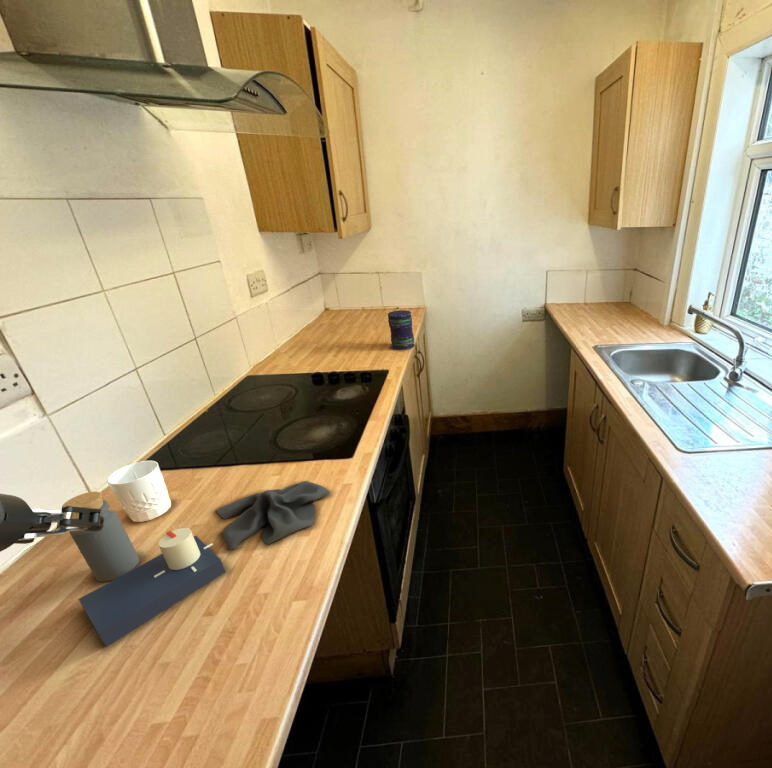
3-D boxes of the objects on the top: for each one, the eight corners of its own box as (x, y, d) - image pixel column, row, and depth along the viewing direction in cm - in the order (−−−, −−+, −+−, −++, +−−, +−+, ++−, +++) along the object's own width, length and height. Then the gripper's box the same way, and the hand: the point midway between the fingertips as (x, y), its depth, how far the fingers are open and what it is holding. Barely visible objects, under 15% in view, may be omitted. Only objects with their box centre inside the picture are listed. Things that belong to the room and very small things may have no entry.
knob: (205, 555, 72) (195, 532, 70) (176, 574, 68) (165, 550, 66) (192, 546, 74) (182, 523, 72) (163, 563, 70) (152, 539, 68)
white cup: (173, 514, 86) (156, 474, 82) (124, 530, 82) (103, 489, 78) (175, 494, 92) (159, 456, 88) (129, 508, 88) (110, 468, 84)
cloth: (335, 479, 96) (329, 457, 93) (315, 539, 79) (309, 513, 77) (229, 492, 92) (221, 469, 90) (185, 557, 75) (174, 531, 73)
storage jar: (393, 343, 187) (388, 303, 179) (415, 342, 188) (411, 302, 180) (390, 350, 178) (384, 309, 170) (413, 349, 178) (408, 308, 171)
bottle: (137, 550, 77) (104, 484, 71) (141, 568, 73) (106, 500, 67) (95, 568, 73) (56, 500, 67) (96, 588, 69) (55, 518, 63)
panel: (106, 647, 60) (97, 632, 59) (86, 612, 65) (77, 598, 64) (230, 568, 73) (225, 555, 72) (205, 544, 78) (200, 531, 77)
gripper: (-131, 570, 46) (3, 566, 61) (29, 542, 50) (119, 544, 65) (-111, 502, 49) (13, 514, 63) (40, 480, 52) (124, 496, 67)
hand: (66, 529), depth 64 cm, fingers open, 8 cm apart
